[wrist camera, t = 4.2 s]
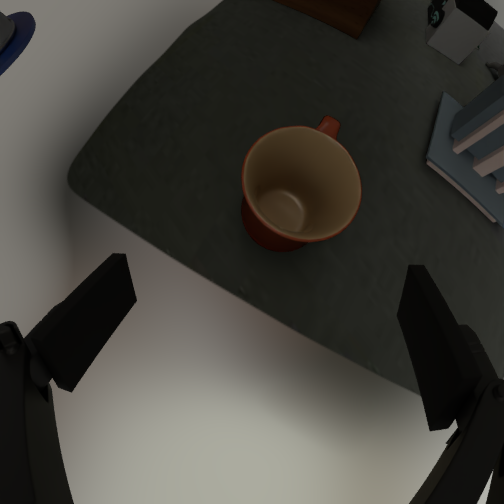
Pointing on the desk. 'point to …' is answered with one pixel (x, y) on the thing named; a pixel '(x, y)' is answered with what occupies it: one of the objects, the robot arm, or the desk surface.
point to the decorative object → (458, 26)
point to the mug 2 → (497, 67)
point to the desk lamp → (472, 148)
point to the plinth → (338, 12)
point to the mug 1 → (299, 186)
